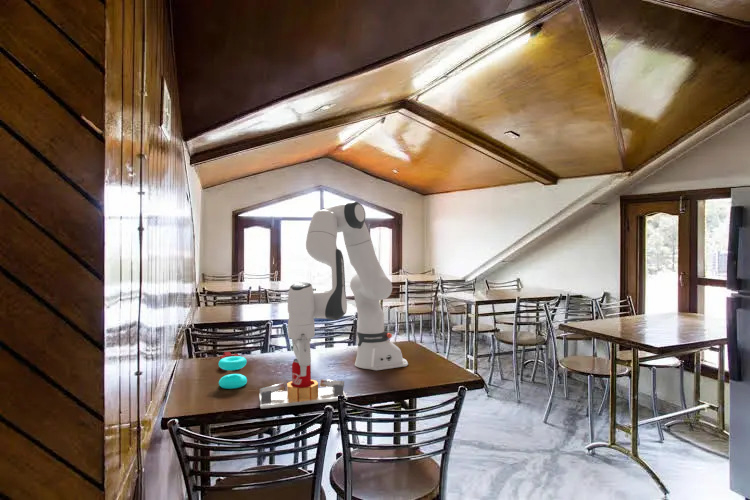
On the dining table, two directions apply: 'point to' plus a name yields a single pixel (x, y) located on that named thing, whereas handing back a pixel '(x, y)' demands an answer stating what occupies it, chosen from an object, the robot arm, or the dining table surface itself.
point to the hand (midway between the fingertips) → (301, 372)
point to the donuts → (232, 379)
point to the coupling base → (301, 394)
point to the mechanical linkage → (227, 354)
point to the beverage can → (297, 378)
